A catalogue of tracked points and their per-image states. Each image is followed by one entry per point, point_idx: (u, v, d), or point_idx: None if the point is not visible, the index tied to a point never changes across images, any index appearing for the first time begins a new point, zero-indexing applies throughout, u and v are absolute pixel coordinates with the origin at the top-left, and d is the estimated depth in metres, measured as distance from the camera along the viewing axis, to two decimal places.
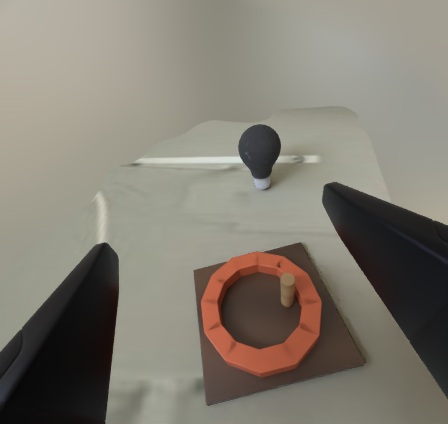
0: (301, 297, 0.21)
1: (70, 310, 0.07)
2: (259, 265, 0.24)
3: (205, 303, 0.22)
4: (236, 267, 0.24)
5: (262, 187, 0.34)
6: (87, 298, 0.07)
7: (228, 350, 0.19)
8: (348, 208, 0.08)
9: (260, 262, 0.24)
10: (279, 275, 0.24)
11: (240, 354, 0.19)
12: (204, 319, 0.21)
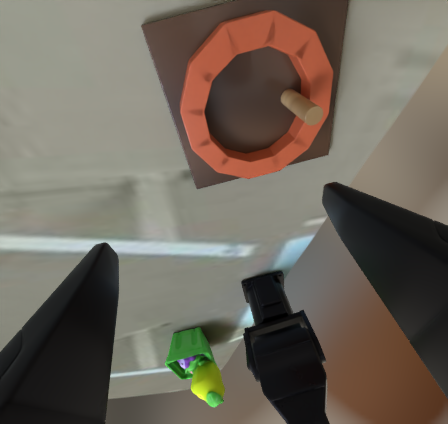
0: None
1: (70, 310, 0.07)
2: (270, 44, 0.14)
3: (187, 115, 0.16)
4: (233, 49, 0.14)
5: None
6: (87, 298, 0.07)
7: (220, 165, 0.19)
8: (348, 208, 0.08)
9: (275, 41, 0.14)
10: (292, 59, 0.16)
11: (232, 167, 0.19)
12: (190, 136, 0.17)
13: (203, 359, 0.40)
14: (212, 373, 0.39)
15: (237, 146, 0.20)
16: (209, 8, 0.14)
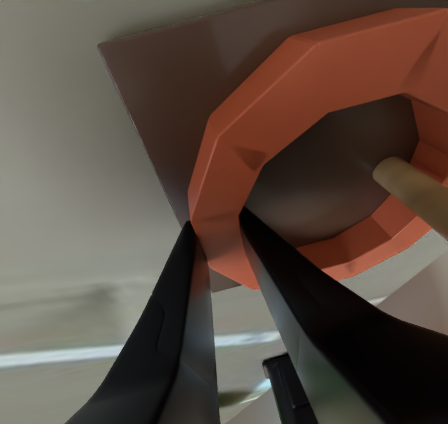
0: None
1: (192, 278, 0.07)
2: (403, 88, 0.06)
3: (205, 223, 0.08)
4: (322, 104, 0.06)
5: None
6: (198, 269, 0.07)
7: None
8: (244, 236, 0.08)
9: (421, 84, 0.06)
10: (423, 111, 0.08)
11: None
12: (207, 252, 0.09)
13: None
14: None
15: None
16: (266, 3, 0.05)
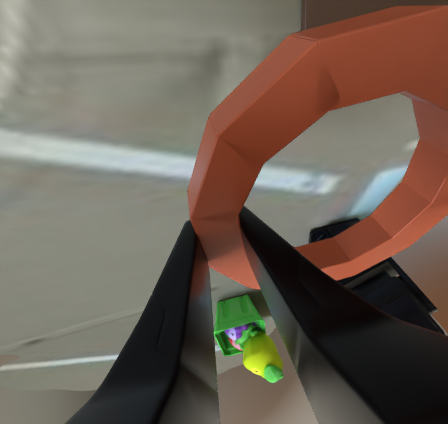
0: (437, 195, 0.09)
1: (192, 278, 0.07)
2: (403, 86, 0.06)
3: (205, 223, 0.08)
4: (323, 102, 0.06)
5: None
6: (198, 269, 0.07)
7: None
8: (244, 236, 0.08)
9: (421, 82, 0.06)
10: (424, 110, 0.07)
11: None
12: (207, 251, 0.09)
13: (255, 329, 0.35)
14: (269, 344, 0.33)
15: None
16: None
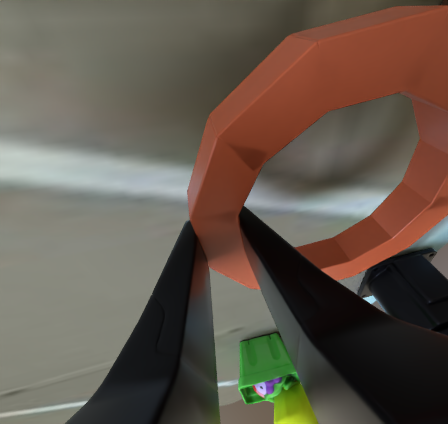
0: (437, 195, 0.09)
1: (193, 278, 0.07)
2: (403, 87, 0.06)
3: (205, 223, 0.08)
4: (323, 102, 0.06)
5: None
6: (198, 269, 0.07)
7: None
8: (244, 236, 0.08)
9: (421, 82, 0.06)
10: (424, 110, 0.07)
11: None
12: (207, 251, 0.09)
13: (289, 379, 0.28)
14: (308, 402, 0.26)
15: None
16: None
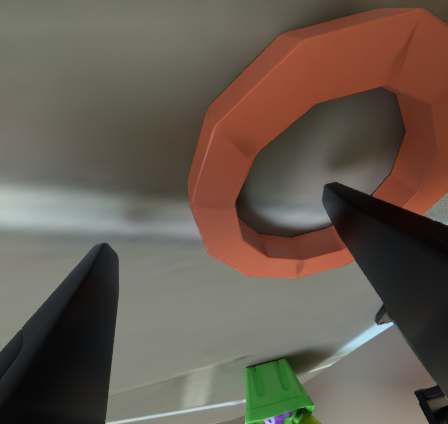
0: (422, 185, 0.09)
1: (70, 310, 0.07)
2: (385, 82, 0.07)
3: (203, 209, 0.08)
4: (310, 95, 0.06)
5: None
6: (87, 298, 0.07)
7: (254, 268, 0.11)
8: (348, 208, 0.08)
9: (400, 77, 0.06)
10: (407, 104, 0.08)
11: (273, 268, 0.12)
12: (206, 237, 0.09)
13: (299, 411, 0.26)
14: None
15: None
16: None
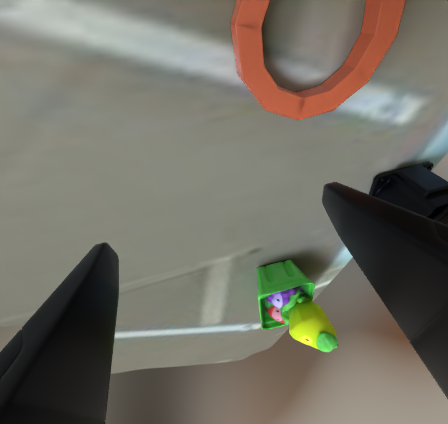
0: (377, 26, 0.15)
1: (70, 310, 0.07)
2: None
3: (243, 29, 0.14)
4: None
5: None
6: (87, 298, 0.07)
7: (270, 100, 0.17)
8: (348, 208, 0.08)
9: None
10: None
11: (282, 103, 0.17)
12: (242, 59, 0.15)
13: (302, 295, 0.31)
14: (320, 311, 0.30)
15: None
16: None
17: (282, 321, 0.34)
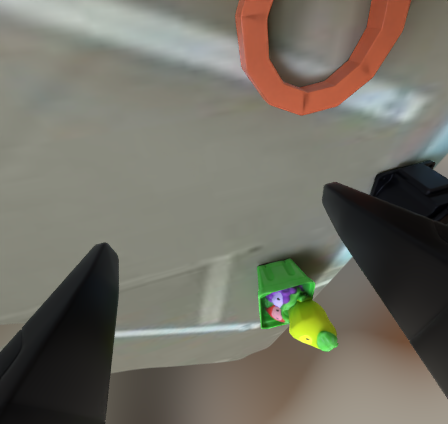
0: (384, 21, 0.15)
1: (70, 310, 0.07)
2: None
3: (248, 21, 0.14)
4: None
5: None
6: (87, 298, 0.07)
7: (275, 94, 0.17)
8: (348, 208, 0.08)
9: None
10: None
11: (287, 98, 0.17)
12: (247, 51, 0.15)
13: (302, 294, 0.31)
14: (320, 310, 0.30)
15: None
16: None
17: (282, 320, 0.34)
